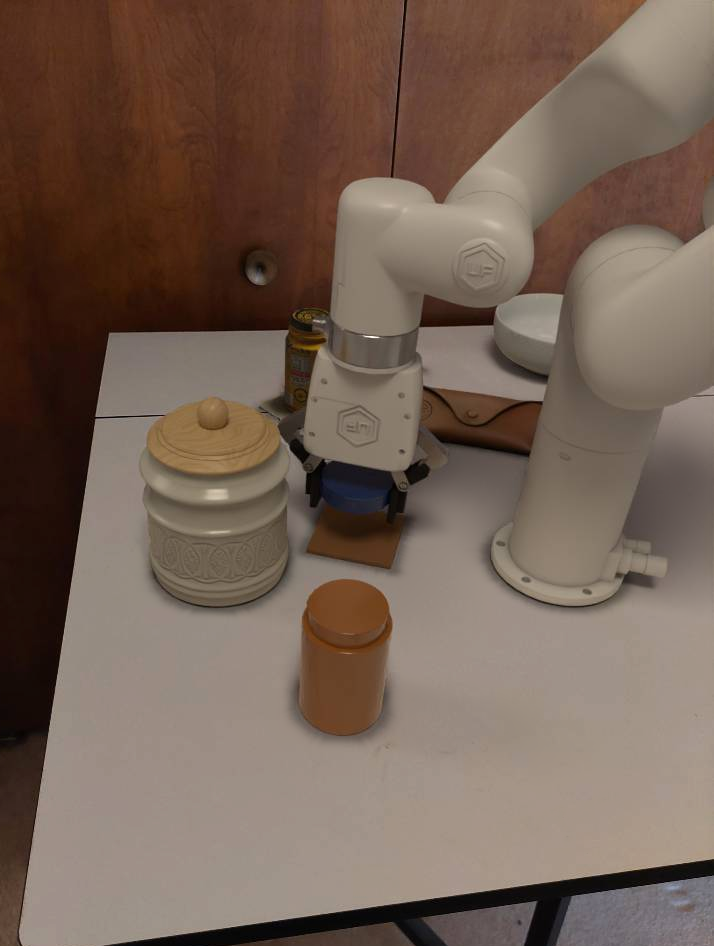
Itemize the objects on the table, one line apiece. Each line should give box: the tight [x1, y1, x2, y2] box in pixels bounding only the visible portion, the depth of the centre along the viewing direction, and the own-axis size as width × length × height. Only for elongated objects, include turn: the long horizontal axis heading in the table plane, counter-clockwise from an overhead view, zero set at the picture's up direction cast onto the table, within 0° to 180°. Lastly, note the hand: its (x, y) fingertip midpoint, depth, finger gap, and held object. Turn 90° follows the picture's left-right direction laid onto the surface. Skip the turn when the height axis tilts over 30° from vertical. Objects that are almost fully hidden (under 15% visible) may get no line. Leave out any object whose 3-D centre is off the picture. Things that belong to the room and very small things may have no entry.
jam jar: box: [298, 578, 394, 736], centre depth 60 cm, size 7×7×10 cm
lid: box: [319, 460, 394, 514], centre depth 77 cm, size 7×7×2 cm
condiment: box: [257, 307, 330, 427], centre depth 97 cm, size 7×8×12 cm
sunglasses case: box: [421, 384, 543, 455], centre depth 97 cm, size 18×7×7 cm
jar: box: [138, 396, 291, 607], centre depth 71 cm, size 13×13×18 cm
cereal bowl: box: [493, 292, 564, 377], centre depth 110 cm, size 17×17×7 cm
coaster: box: [305, 503, 407, 570], centre depth 81 cm, size 8×8×1 cm
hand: (354, 507), depth 79 cm, fingers closed on lid, 7 cm apart
